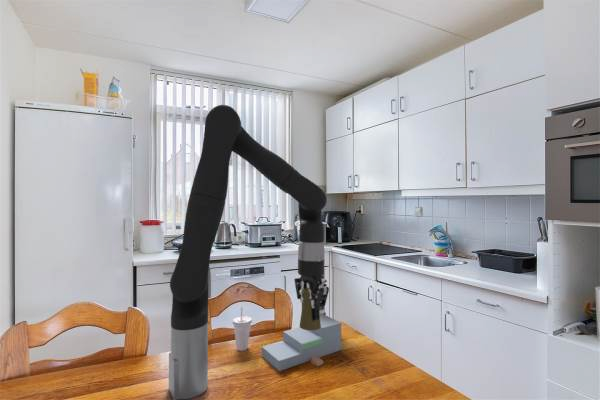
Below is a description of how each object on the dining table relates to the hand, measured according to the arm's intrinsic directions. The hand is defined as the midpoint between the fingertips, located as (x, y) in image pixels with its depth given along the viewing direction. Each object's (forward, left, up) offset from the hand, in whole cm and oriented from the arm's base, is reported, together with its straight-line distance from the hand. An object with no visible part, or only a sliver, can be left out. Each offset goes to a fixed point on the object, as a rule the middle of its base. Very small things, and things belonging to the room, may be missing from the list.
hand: (310, 318), depth 89 cm
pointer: (+6, +5, -17) cm, 18 cm away
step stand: (+6, +13, -17) cm, 22 cm away
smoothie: (-9, +27, -17) cm, 33 cm away
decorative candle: (+20, +25, -17) cm, 36 cm away
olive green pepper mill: (0, 0, -3) cm, 3 cm away
